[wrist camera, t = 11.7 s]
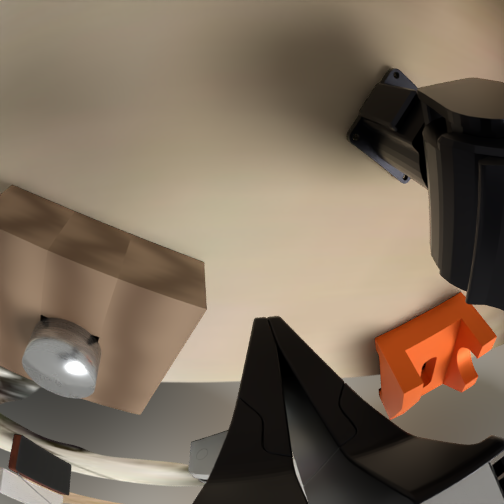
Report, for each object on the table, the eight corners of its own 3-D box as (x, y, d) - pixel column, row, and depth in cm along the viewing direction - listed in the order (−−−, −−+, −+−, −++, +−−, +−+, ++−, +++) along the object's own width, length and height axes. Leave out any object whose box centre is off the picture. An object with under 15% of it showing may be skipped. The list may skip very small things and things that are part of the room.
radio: (13, 433, 38) (3, 494, 26) (21, 434, 38) (12, 497, 26) (68, 466, 49) (64, 519, 37) (76, 467, 49) (74, 521, 36)
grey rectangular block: (63, 495, 76) (62, 516, 68) (49, 493, 77) (48, 512, 68) (3, 467, 58) (0, 491, 50) (-8, 465, 59) (-11, 487, 50)
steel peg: (118, 291, 22) (100, 370, 16) (104, 333, 25) (90, 405, 18) (55, 266, 20) (20, 339, 14) (49, 312, 23) (24, 381, 16)
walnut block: (204, 262, 23) (206, 309, 19) (142, 374, 29) (140, 414, 25) (12, 184, 16) (-25, 217, 12) (6, 324, 23) (-11, 360, 19)
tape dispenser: (373, 335, 32) (403, 393, 25) (459, 289, 31) (496, 336, 24) (378, 395, 42) (397, 437, 35) (444, 360, 41) (466, 397, 34)
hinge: (209, 449, 44) (201, 496, 34) (191, 435, 43) (180, 483, 33) (297, 418, 40) (303, 471, 31) (281, 401, 39) (284, 456, 30)
